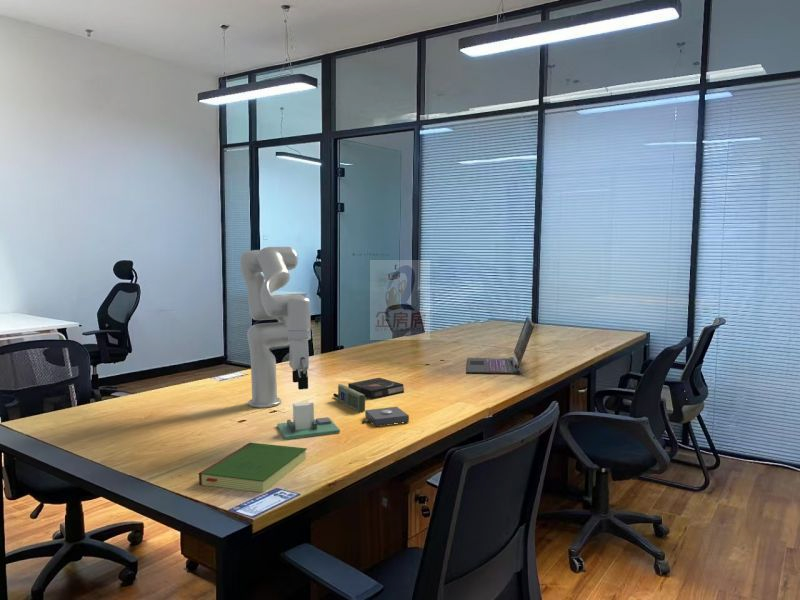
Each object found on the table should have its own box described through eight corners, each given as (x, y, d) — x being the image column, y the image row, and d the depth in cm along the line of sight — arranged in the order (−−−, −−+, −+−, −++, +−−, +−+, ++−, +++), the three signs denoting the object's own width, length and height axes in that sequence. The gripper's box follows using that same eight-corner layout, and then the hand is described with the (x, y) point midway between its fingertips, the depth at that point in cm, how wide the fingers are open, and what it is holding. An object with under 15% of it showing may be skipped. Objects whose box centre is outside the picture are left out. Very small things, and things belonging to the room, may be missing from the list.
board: (277, 426, 200) (277, 417, 199) (328, 420, 206) (328, 412, 206) (284, 439, 186) (284, 430, 185) (339, 432, 192) (339, 423, 192)
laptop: (467, 360, 312) (467, 316, 310) (527, 361, 308) (528, 316, 306) (466, 375, 278) (466, 325, 276) (534, 376, 274) (534, 325, 272)
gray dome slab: (356, 418, 208) (356, 410, 208) (396, 413, 213) (396, 405, 213) (366, 427, 197) (366, 419, 196) (408, 422, 202) (408, 414, 202)
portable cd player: (372, 400, 233) (372, 390, 233) (348, 392, 246) (348, 383, 246) (404, 393, 244) (404, 384, 243) (379, 386, 257) (379, 377, 256)
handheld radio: (358, 413, 215) (330, 398, 237) (366, 412, 217) (338, 397, 238) (358, 395, 215) (330, 382, 236) (366, 394, 216) (338, 381, 238)
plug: (293, 426, 196) (292, 403, 195) (312, 424, 198) (311, 401, 197) (295, 430, 192) (294, 406, 191) (315, 427, 194) (314, 404, 194)
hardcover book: (250, 454, 174) (249, 442, 174) (307, 460, 169) (306, 448, 168) (197, 488, 150) (197, 474, 150) (262, 496, 145) (261, 481, 144)
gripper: (283, 331, 199) (284, 380, 201) (292, 339, 183) (293, 393, 185) (305, 330, 201) (306, 378, 203) (316, 338, 185) (317, 390, 187)
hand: (300, 385), depth 194 cm, fingers open, 9 cm apart
